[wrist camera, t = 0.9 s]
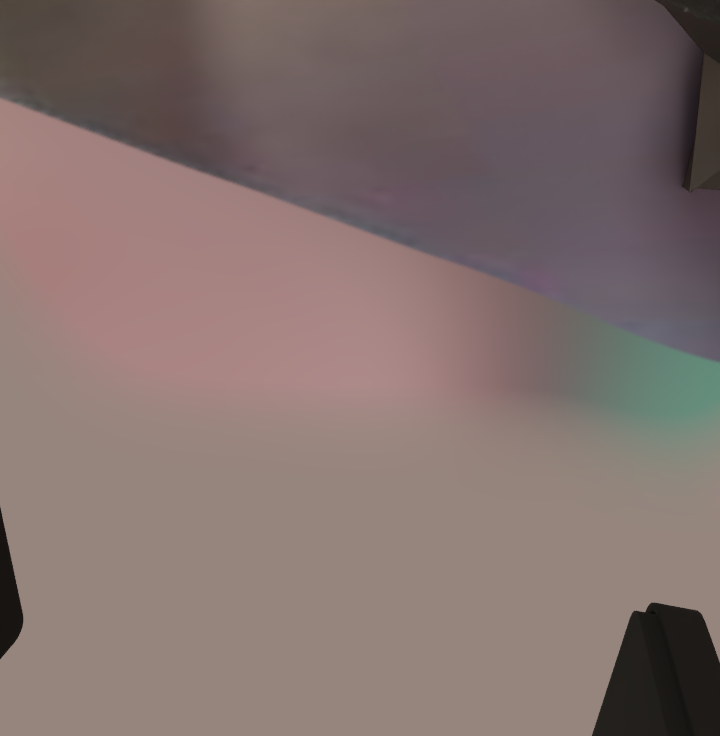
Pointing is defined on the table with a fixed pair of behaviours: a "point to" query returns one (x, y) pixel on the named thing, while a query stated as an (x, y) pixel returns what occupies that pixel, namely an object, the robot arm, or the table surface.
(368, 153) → the table surface
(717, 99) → the grey angular figure
